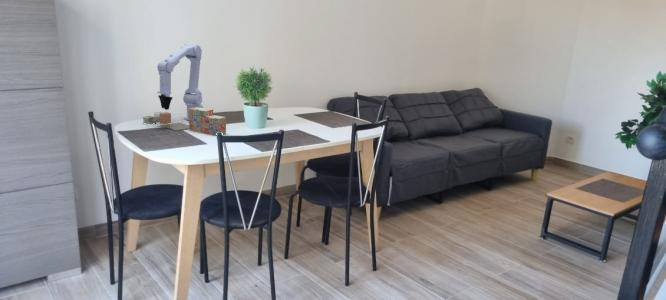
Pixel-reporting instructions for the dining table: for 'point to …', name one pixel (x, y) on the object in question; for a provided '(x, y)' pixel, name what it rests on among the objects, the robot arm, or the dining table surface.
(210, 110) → the stack of blocks
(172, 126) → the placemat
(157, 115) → the grey cylinder
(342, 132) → the dining table surface
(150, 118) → the sage block
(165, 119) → the terracotta block
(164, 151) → the dining table surface
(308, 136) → the dining table surface
